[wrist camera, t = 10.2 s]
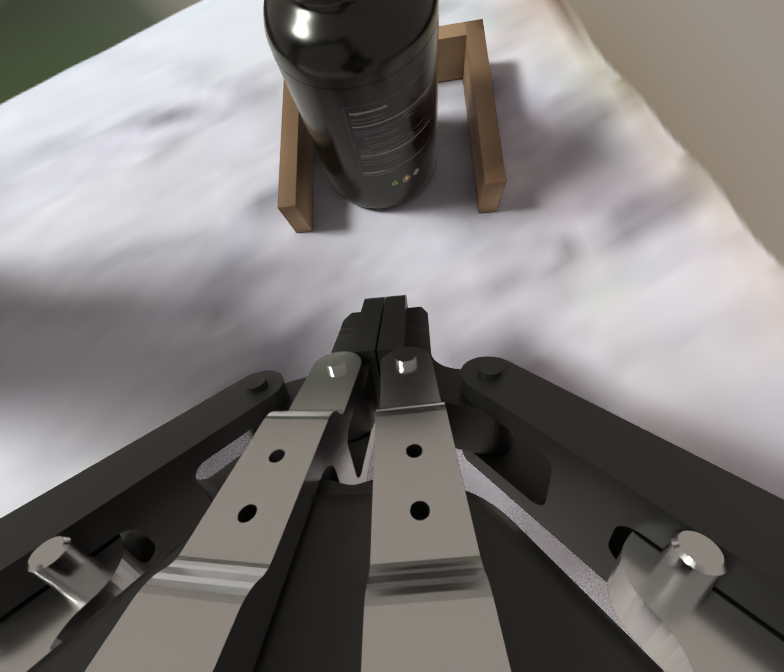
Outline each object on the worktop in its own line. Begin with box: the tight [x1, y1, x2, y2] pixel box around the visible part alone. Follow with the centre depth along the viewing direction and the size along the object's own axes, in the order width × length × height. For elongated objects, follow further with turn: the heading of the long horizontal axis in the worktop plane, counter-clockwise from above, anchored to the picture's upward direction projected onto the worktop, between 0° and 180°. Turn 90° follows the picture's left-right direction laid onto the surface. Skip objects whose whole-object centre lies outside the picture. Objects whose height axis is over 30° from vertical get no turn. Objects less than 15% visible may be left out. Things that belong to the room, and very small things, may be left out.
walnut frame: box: [278, 19, 506, 233], centre depth 19 cm, size 12×11×2 cm
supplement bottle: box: [263, 0, 439, 209], centre depth 14 cm, size 7×7×12 cm
